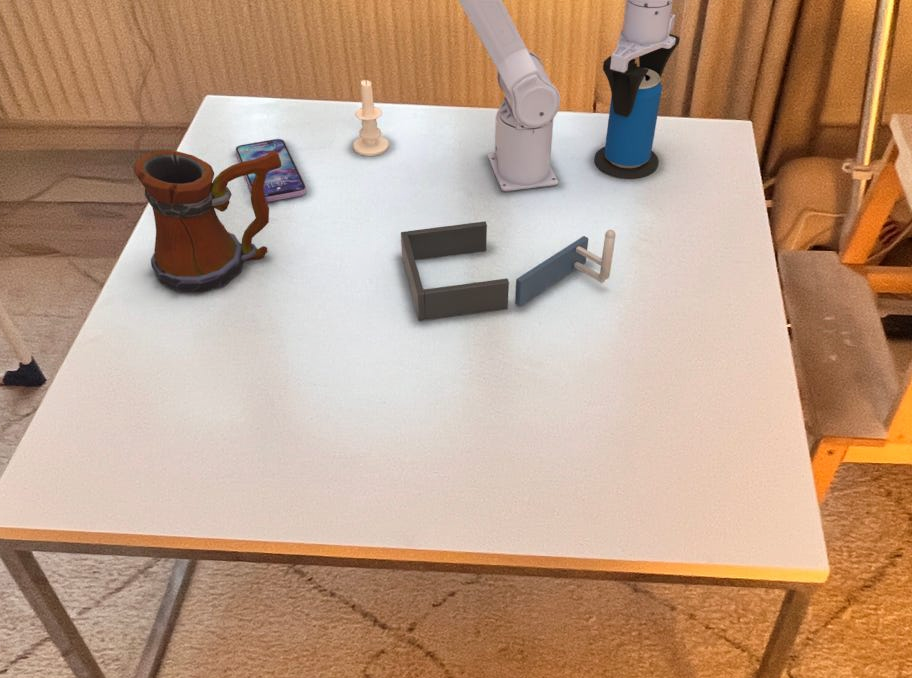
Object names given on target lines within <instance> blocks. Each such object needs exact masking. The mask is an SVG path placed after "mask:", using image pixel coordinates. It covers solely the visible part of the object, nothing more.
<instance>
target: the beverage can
mask: <svg viewBox="0 0 912 678" xmlns="http://www.w3.org/2000/svg"><path fill="white" fill-rule="evenodd" d="M645 69H647V68H645ZM648 70H649V71H648V72H647V73H646V75H645V76H644V78H643V80H642V82H641V84H640V86H639V89H638V91H637V95H636V98H635V102H634V106H633V109H632V112H631V114H630V115H629V116H628V117H625V116H622V115H618V114H615V113H614V109H613V101H612V95H611V97H610V104H609V105H610V106H609V113H608V120H607V128H606V136H605V145H604V147H605V152H604V154H605V157H606V158H607V159H608V160H609V161H610V162H611V163H612V164H614V165H616V166H618V167H621V168H635V167H639V166H641V165H642V164H644V163H646V162H647V161H648V160H649V159H650V157H651V151H653V145H654V139H655V133H656V127H657V121H658V114H659V109H660V103H661V97H662V90H663V85H662V83H661V78H660V76H659V75H658V73H656V72H655V71H653V70H650V69H648Z"/></svg>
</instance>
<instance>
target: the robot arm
mask: <svg viewBox="0 0 912 678" xmlns="http://www.w3.org/2000/svg"><path fill="white" fill-rule="evenodd" d="M458 2H459V5H460V6H461V8H462V9H463V11H464V13H465V15H466V16H467V18H468V20H469V22H470V24H471V25H472V27H473V29H474V31H475V33H476V34H477V36H478V38H479V40H480V41H481V43H482V45H483V47H484V48H485V49H484V50H485V51H486V52H487V54H488V57H490V59H491V62H492V64H493V65H494V67H495V69H496V76H497V77H496V79H497V84H498V86H499V87H498V88H500V91H502V92H503V96H504V98H503V100H502V103H501V105H500V106H499V108H498V109H497V111H496V114H495V124H494V125H495V126H494V152H491V153H488V154H487V159H488V161H489V164H490V167H491V169H492V171H493V174H494V175H495V178H496V180H497V183H498V185H499V187H500V190H501V191H502V192H512V191H519V190H527V189H528V190H529V189H536V188H543V187H553V186H557V185H558V184H559V180H558V178H557V176H556V174H555V172H554V170H553V168H552V166H551V158H552V157H551V156H552V155H551V154H552V143H553V132H554V118H555V117H556V116H557V114H558V112H559V110H560V107H561V100H562V99H561V95H560V92H559V90H558V88H557V87H556V85H555V84H554V83H553V82H552V80H551V78H550V76H549V75H548V72H547V71H546V70H545V68H544V64H543V62H542V60H541V58H540V57H539V56H538V55H537V54H536V53H534V52H532V51H531V50H529V49H528V47H527V46H526V43H525V42H524V40H523V38H522V36H521V34H520V32H519V31H518V29H517V27H516V25H515V23H514V21H513V19H512V17H511V15H510V13H509V11H508V10H507V8H506V5H505V4H504V2H503V0H458ZM673 3H674V0H625V8H624V14H623V23H622V29H621V30H620V33H619V36H618V41H617V44H616V48H615V50H614V51H613V52H612V53H611V55H610V56H608V57H607V58H606V59H605V60H603V62H602V63H603V64H602V70H603V72H604V74H605V76H606V79H607V81H608V84H609V88H610V94H611V96H612V101H613V109H614V113H615V114H618V115H622V116H625V117H628V116H629V115H630V114H631V112H632V109H633V106H634V102H635V98H636V95H637V91H638V89H639V86H640V84H641V82H642V80H643V78H644V76H645V75H646V73H647V72H648V71H649V70H648V69H650V70H653V71H655V72H656V73H658V75H659V76H660V79H662V75H663V73H664V70H665V67H666V65H667V63H668V61H669V59H670V58H671V55H672V54H673V52H674V51H675V49H676V48H677V47H678V45H680V40H681V39H680V37H679V36H678V35H675V34H671V32H672V31H673V30H674V26H675V22H676V14H674V13H672V10H673ZM636 58H638V63H637V62H636ZM645 68H647V69H645Z"/></svg>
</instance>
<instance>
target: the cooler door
mask: <svg viewBox="0 0 912 678" xmlns="http://www.w3.org/2000/svg"><path fill="white" fill-rule="evenodd" d="M616 234H617V233H616V232H615V231H614V230H613V229H608V230H607V231H605V233H604V239H603V246H602V247H603V248H602V255H601V257H600V256H598V255H596V254H595V253H593V252H591V251H589V250H588V246H589V237H587V236H585V235H582V236H581V237H579V238H578V239H576V240H575V241H573V242H572V243H570V244H569V245H567V246H565V247H564V248H562V249H560V250H559V251H558V252H556V253H555V254H553V255H551V256H550V257H549V258H547V259H545V260H544V261H542V262H540V263H539V264H537V265H535V266H534V267H533V268H531V269H529V270H527V271H526V272H525V273H523V274H522V275H520V276H518V277H517V278H516V279H515V293H514V294H515V295H514V304H515V305H517V306H518V307H521V306H523V305H524V304H526V303H527V302H528V301H530V300H531V299H534V298H535V297H536V296H538V295H539V294H541V293H542V292H543V291H545V290H547V289H548V288H550V287H551V286H553V285H555V284H556V283H557V282H559V281H560V280H563V278H565V277H566V276H568V275H569V274H571V273H573V272H574V271H576V270H578V271H580V272H582V273H584V274H585V275H587V276H589V277H590V278H592V279H593V280H596V281H597V282H599V283H601V284H603V283H604V282H606V281H607V280H609V278H610V276H611V270H612V269H611V268H612V263H613V256H614V250H615V243H616ZM587 260H589V261H591V262H593V263H594V264H597V265H599V267H600V269H599V272H598V271H595V270H593V269H591V268H589V267H588V266H586V265H585V264H586V262H587Z"/></svg>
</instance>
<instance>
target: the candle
mask: <svg viewBox="0 0 912 678" xmlns="http://www.w3.org/2000/svg"><path fill="white" fill-rule="evenodd" d="M360 90H361V91H360V95H361V107H359V108H357V109H356V110H355V111H354V116H355V118H357V119H359V120H361V128H360V129H359V131H358V135H359V137H358V138H356V139H355V140H354V142H353V144H352V146H353V150H354V152H355V153H356V154H358V155H360V156H363V157H377V156H380V155H383V154H384V153H385V152H387V151H388V150H389V147H390V144H389V140H388V139H387V138H385V137H384V136H382V131H381V129H380V128H379V127H378V121H377V119H379V118H381V116H382V114H383V112H382V109H381V108H380V107H377V106H375V104H374V95H373V94H374V91H373V84H372V81H370V80H368V79H363V80H361V81H360Z"/></svg>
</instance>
